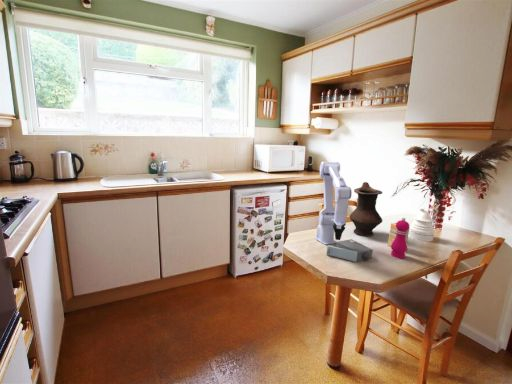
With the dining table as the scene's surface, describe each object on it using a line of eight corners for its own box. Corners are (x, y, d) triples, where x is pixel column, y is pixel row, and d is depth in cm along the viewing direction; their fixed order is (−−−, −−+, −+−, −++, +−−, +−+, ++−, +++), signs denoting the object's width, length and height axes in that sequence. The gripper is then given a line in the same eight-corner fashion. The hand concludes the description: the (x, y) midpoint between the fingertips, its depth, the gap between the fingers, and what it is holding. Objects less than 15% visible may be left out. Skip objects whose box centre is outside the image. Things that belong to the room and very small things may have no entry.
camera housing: (335, 249, 148) (337, 241, 147) (350, 247, 153) (351, 238, 152) (358, 262, 135) (359, 252, 134) (373, 259, 139) (374, 249, 138)
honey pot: (410, 239, 168) (415, 209, 164) (406, 232, 180) (411, 204, 176) (435, 243, 164) (441, 212, 160) (429, 235, 176) (434, 207, 173)
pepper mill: (397, 259, 140) (403, 220, 136) (386, 253, 147) (392, 215, 142) (409, 258, 142) (415, 219, 138) (398, 252, 149) (404, 215, 145)
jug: (383, 240, 164) (391, 189, 157) (350, 237, 167) (356, 186, 160) (374, 228, 184) (381, 182, 178) (345, 225, 187) (350, 180, 180)
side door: (325, 255, 140) (326, 246, 139) (327, 253, 142) (327, 245, 141) (355, 262, 134) (356, 253, 133) (356, 260, 136) (357, 252, 135)
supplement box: (386, 245, 157) (390, 222, 154) (393, 244, 159) (397, 222, 156) (399, 251, 150) (403, 227, 147) (406, 250, 151) (410, 227, 148)
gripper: (333, 206, 146) (330, 232, 149) (331, 214, 133) (328, 242, 136) (347, 208, 144) (344, 234, 147) (347, 216, 131) (343, 244, 134)
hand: (337, 238), depth 141 cm, fingers open, 3 cm apart
